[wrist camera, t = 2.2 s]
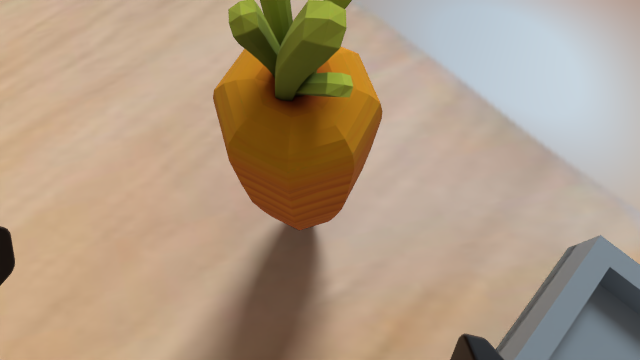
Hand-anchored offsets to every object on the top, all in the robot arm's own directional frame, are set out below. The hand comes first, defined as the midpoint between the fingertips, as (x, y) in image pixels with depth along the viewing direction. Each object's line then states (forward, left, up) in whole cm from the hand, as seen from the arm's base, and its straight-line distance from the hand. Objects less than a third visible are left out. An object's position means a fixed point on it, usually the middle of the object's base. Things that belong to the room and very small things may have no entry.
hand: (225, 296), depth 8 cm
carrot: (+5, +3, -12) cm, 14 cm away
